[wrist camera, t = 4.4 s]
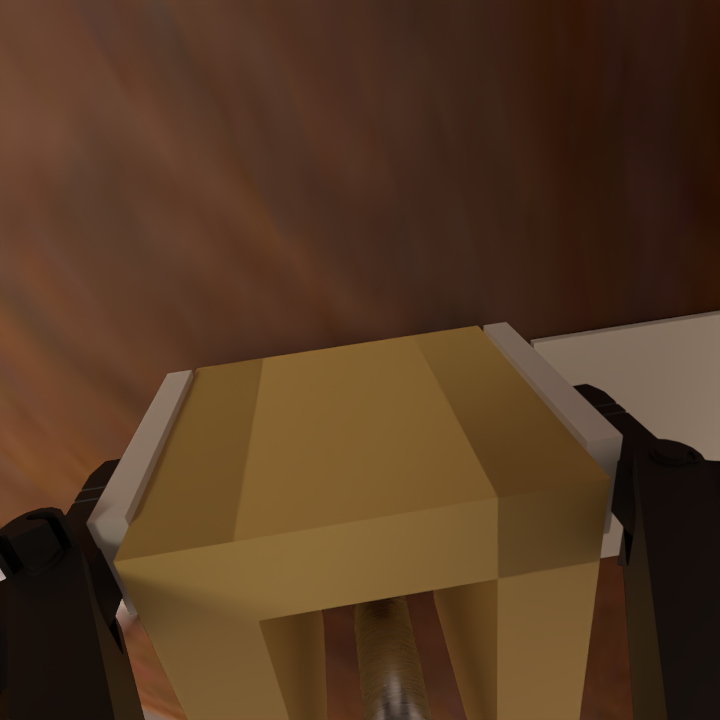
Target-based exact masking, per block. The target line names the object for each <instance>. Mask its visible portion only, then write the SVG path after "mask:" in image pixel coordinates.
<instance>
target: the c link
mask: <svg viewBox="0 0 720 720" xmlns="http://www.w3.org/2000/svg"><path fill="white" fill-rule="evenodd" d="M610 480H611V478H610V477H609V476H608V475H607V474H606V473H605V471H604V470H603V469H602V468H601V467H600V466H599V464H598V463H597V462H596V461H595V460H594V459H593V458H592V456H591V455H590V454H589V453H588V452H587V451H586V450H585V449H584V448H583V447H582V446H581V444H580V443H579V442H578V441H577V440H576V439H575V437H574V436H573V435H572V434H571V433H570V432H569V431H568V429H567V428H566V427H565V426H564V425H563V424H562V422H561V421H560V420H559V419H558V418H557V417H556V416H555V414H554V413H553V412H552V411H551V410H550V409H549V407H548V406H547V405H546V404H545V403H544V402H543V400H542V399H541V398H540V397H539V396H538V395H537V394H536V392H535V391H534V390H533V389H532V388H531V387H530V385H529V384H528V383H527V382H526V381H525V380H524V379H523V377H522V376H521V375H520V374H519V373H518V372H517V370H516V369H515V368H514V367H513V366H512V365H511V364H510V362H509V361H508V360H507V359H506V358H505V357H504V355H503V354H502V353H501V352H500V351H499V350H498V349H497V347H496V346H495V345H494V344H493V343H492V342H491V340H490V339H489V338H488V337H487V336H486V335H485V334H484V332H483V331H482V330H481V329H480V328H479V326H478V325H477V326H471V327H464V328H458V329H451V330H445V331H438V332H431V333H425V334H418V335H412V336H405V337H399V338H392V339H386V340H379V341H373V342H366V343H359V344H353V345H346V346H340V347H333V348H327V349H320V350H314V351H307V352H300V353H294V354H287V355H281V356H274V357H268V358H261V359H255V360H248V361H242V362H235V363H228V364H222V365H215V366H209V367H202V368H197V370H196V372H195V374H194V377H193V379H192V382H191V384H190V386H189V389H188V391H187V393H186V396H185V398H184V400H183V403H182V405H181V407H180V409H179V412H178V414H177V416H176V419H175V421H174V423H173V426H172V428H171V430H170V433H169V435H168V437H167V440H166V442H165V444H164V446H163V449H162V451H161V453H160V456H159V458H158V460H157V463H156V465H155V467H154V470H153V472H152V474H151V477H150V479H149V481H148V483H147V486H146V488H145V490H144V493H143V495H142V497H141V500H140V502H139V504H138V507H137V509H136V511H135V514H134V516H133V518H132V520H131V523H130V525H129V527H128V529H127V531H126V534H125V536H124V538H123V540H122V543H121V545H120V547H119V550H118V552H117V554H116V557H115V559H114V561H113V563H114V565H115V567H116V569H117V571H118V573H119V575H120V578H121V580H122V582H123V584H124V586H125V588H126V590H127V592H128V594H129V597H130V599H131V601H132V603H133V605H134V607H135V609H136V611H137V614H138V616H139V618H140V620H141V622H142V624H143V626H144V628H145V630H146V633H147V635H148V637H149V639H150V641H151V643H152V645H153V647H154V649H155V652H156V654H157V656H158V658H159V660H160V662H161V664H162V666H163V669H164V671H165V673H166V675H167V677H168V679H169V681H170V683H171V685H172V688H173V690H174V692H175V694H176V696H177V698H178V700H179V702H180V705H181V707H182V709H183V711H184V713H185V715H186V717H187V719H188V720H328V713H327V689H326V665H325V641H324V619H323V615H322V609H328V608H334V607H340V606H345V605H351V604H357V603H362V602H368V601H374V600H380V599H385V598H391V597H397V596H402V595H408V594H414V593H420V592H425V591H431V590H433V593H434V602H435V605H436V609H437V613H438V616H439V620H440V623H441V627H442V631H443V634H444V638H445V642H446V645H447V649H448V652H449V656H450V660H451V663H452V667H453V671H454V674H455V678H456V681H457V685H458V689H459V692H460V696H461V700H462V703H463V707H464V710H465V714H466V718H467V720H579V718H580V710H581V703H582V695H583V687H584V680H585V672H586V664H587V657H588V649H589V641H590V634H591V626H592V618H593V611H594V603H595V595H596V588H597V580H598V572H599V565H600V557H601V549H602V542H603V534H604V526H605V519H606V511H607V503H608V496H609V488H610Z"/></svg>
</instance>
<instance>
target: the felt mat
mask: <svg viewBox="0 0 720 720" xmlns="http://www.w3.org/2000/svg"><path fill="white" fill-rule="evenodd" d="M530 346H531V347H532V348H533V349H534V350H536V351H537V352H538V353H539V354H540V355H541V356H542V357H543V358H544V359H545V360H546V361H547V362H548V363H549V364H550V365H551V366H552V367H553V368H554V369H555V370H556V371H557V372H558V373H559V374H560V375H561V376H562V377H563V378H564V379H565V380H566V381H567V382H568V383H569V384H570V385H571V386H575V385H581V384H589V385H591V386H594V387H596V388H598V389H600V390H603V391H605V392H606V393H607V394H608V395H609V396H610V397H611V398H613V399H614V400H615V401H616V403H617V404H619V405H620V406H622V407H623V408H624V409H625V410H626V413H627V412H628V413H629V414H631V415H632V416H633V417H634V418H635V419H636V420H637V421H639V422H640V423H641V424H642V425H643V426H644V427H645V428H646V429H648V430H649V431H650V432H651V433H652V434H653V435H654V436H655V437H657V438H658V439H668V440H673V441H678V442H681V443H683V444H686V445H688V446H691V447H692V448H694V449H695V450H697V451H698V452H699V453H701V454H702V456H703V457H704V459H705V460H713V461H720V311H714V312H708V313H701V314H695V315H688V316H682V317H675V318H669V319H662V320H656V321H649V322H643V323H636V324H630V325H624V326H617V327H611V328H604V329H598V330H591V331H585V332H578V333H572V334H565V335H559V336H552V337H546V338H540V339H533V340H531V344H530ZM622 532H623V526H622V525H621V523H620V522H619V521H618V520H617V518H616V517H615V516H614V515H613V513H612V519H611V526H610V533H607V534H603V542H602V549H601V557H600V558H605V557H611V556H616V555H619V551H620V545H621V538H622Z"/></svg>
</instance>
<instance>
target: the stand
mask: <svg viewBox="0 0 720 720" xmlns="http://www.w3.org/2000/svg"><path fill="white" fill-rule="evenodd" d="M352 606H353V616H354V626H355V636H356V646H357V655H358V665H359V675H360V685H361V695H362V705H363V714H364V720H432V715H431V711H430V706H429V701H428V697H427V692H426V688H425V683H424V678H423V674H422V669H421V665H420V660H419V655H418V651H417V646H416V641H415V637H414V632H413V628H412V623H411V618H410V614H409V609H408V605H407V600H406V595H402V596H397V597H391V598H385V599H380V600H374V601H368V602H362V603H357V604H352Z"/></svg>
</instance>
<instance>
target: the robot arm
mask: <svg viewBox="0 0 720 720" xmlns="http://www.w3.org/2000/svg"><path fill="white" fill-rule="evenodd" d="M484 334H485V335H486V336H487V337H488V338H489V339H490V340H491V342H492V343H493V344H494V345H495V346H496V347H497V349H498V350H499V351H500V352H501V353H502V354H503V355H504V357H505V358H506V359H507V360H508V361H509V362H510V364H511V365H512V366H513V367H514V368H515V369H516V370H517V372H518V373H519V374H520V375H521V376H522V377H523V379H524V380H525V381H526V382H527V383H528V384H529V385H530V387H531V388H532V389H533V390H534V391H535V392H536V394H537V395H538V396H539V397H540V398H541V399H542V400H543V402H544V403H545V404H546V405H547V406H548V407H549V409H550V410H551V411H552V412H553V413H554V414H555V416H556V417H557V418H558V419H559V420H560V421H561V422H562V424H563V425H564V426H565V427H566V428H567V429H568V431H569V432H570V433H571V434H572V435H573V436H574V437H575V439H576V440H577V441H578V442H579V443H580V444H581V446H582V447H583V448H584V449H585V450H586V451H587V452H588V453H589V454H590V455H591V456H592V458H593V459H594V460H595V461H596V462H597V463H598V464H599V466H600V467H601V468H602V469H603V470H604V471H605V473H606V474H607V475H608V476H609V477H610V478H611V480H610V488H609V496H608V503H607V511H606V519H605V526H604V534H607V533H610V526H611V519H612V513H613V515H614V516H615V517H616V518H617V520H618V521H619V522H620V523H621V525H622V526H623V532H622V538H621V545H620V551H619V558H618V564H617V565H620V566H623V575H624V589H625V604H626V618H627V632H628V647H629V661H630V675H631V689H632V704H633V718H634V720H720V461H713V460H705V459H704V457H703V456H702V454H701V453H699V452H698V451H697V450H695V449H694V448H692V447H691V446H688V445H686V444H683V443H681V442H678V441H673V440H668V439H658V438H657V437H655V436H654V435H653V434H652V433H651V432H650V431H649V430H648V429H646V428H645V427H644V426H643V425H642V424H641V423H640V422H639V421H637V420H636V419H635V418H634V417H633V416H632V415H631V414H629V413H628V412H627V413H626V410H625V409H624V408H623V407H622V406H620V405H619V404H617V403H616V401H615V400H614V399H613V398H611V397H610V396H609V395H608V394H607V393H606V392H605V391H603V390H600V389H598V388H596V387H594V386H591V385H589V384H581V385H575V386H571V385H570V384H569V383H568V382H567V381H566V380H565V379H564V378H563V377H562V376H561V375H560V374H559V373H558V372H557V371H556V370H555V369H554V368H553V367H552V366H551V365H550V364H549V363H548V362H547V361H546V360H545V359H544V358H543V357H542V356H541V355H540V354H539V353H538V352H537V351H536V350H534V349H533V348H532V347H531V346H530V345H529V344H528V343H527V342H526V341H525V340H524V339H523V338H522V337H521V336H520V335H519V334H518V333H517V332H516V331H515V330H514V329H513V328H512V327H511V326H510V325H509V324H508V323H507V322H503V323H496V324H490V325H484ZM192 379H193V373H192V370H188V371H181V372H175V373H168V374H167V376H166V377H165V379H164V381H163V383H162V385H161V387H160V388H159V390H158V392H157V394H156V396H155V398H154V399H153V401H152V403H151V405H150V407H149V409H148V411H147V412H146V414H145V416H144V418H143V420H142V422H141V423H140V425H139V427H138V429H137V431H136V433H135V434H134V436H133V438H132V440H131V442H130V444H129V446H128V447H127V449H126V451H125V453H124V455H123V457H122V458H121V459H117V460H111V461H105V462H104V463H103V464H102V465H101V466H100V467H99V468H98V469H96V470H95V471H94V472H93V473H92V474H91V475H90V476H89V478H88V480H87V481H86V483H85V485H84V486H83V488H82V492H80V493H79V494H78V496H77V498H76V499H75V503H74V504H72V506H71V508H70V509H69V511H68V513H67V514H66V516H65V515H64V514H63V512H62V511H61V509H57V508H53V507H49V508H40V509H37V510H34V511H31V512H28V513H25V514H23V515H21V516H19V517H17V518H16V519H14V520H12V521H11V522H9V523H8V524H7V525H5V526H4V527H3V528H1V529H0V569H1V570H2V572H3V573H4V575H5V577H6V579H4V580H2V581H0V720H145V719H144V715H143V711H142V707H141V703H140V699H139V695H138V691H137V687H136V683H135V680H134V676H133V672H132V668H131V664H130V660H129V656H128V652H127V648H126V645H125V641H124V637H123V633H122V629H121V626H120V624H119V622H118V620H117V618H116V616H115V615H116V613H117V610H118V607H119V605H120V602H121V599H123V601H124V603H125V605H126V607H127V609H128V611H129V613H130V615H136V614H137V611H136V609H135V607H134V605H133V603H132V601H131V599H130V597H129V594H128V592H127V590H126V588H125V586H124V584H123V582H122V580H121V578H120V575H119V573H118V571H117V569H116V567H115V565H114V563H113V561H114V559H115V557H116V554H117V552H118V550H119V547H120V545H121V543H122V540H123V538H124V536H125V534H126V531H127V529H128V527H129V525H130V523H131V520H132V518H133V516H134V514H135V511H136V509H137V507H138V504H139V502H140V500H141V497H142V495H143V493H144V490H145V488H146V486H147V483H148V481H149V479H150V477H151V474H152V472H153V470H154V467H155V465H156V463H157V460H158V458H159V456H160V453H161V451H162V449H163V446H164V444H165V442H166V440H167V437H168V435H169V433H170V430H171V428H172V426H173V423H174V421H175V419H176V416H177V414H178V412H179V409H180V407H181V405H182V403H183V400H184V398H185V396H186V393H187V391H188V389H189V386H190V384H191V382H192Z"/></svg>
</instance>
